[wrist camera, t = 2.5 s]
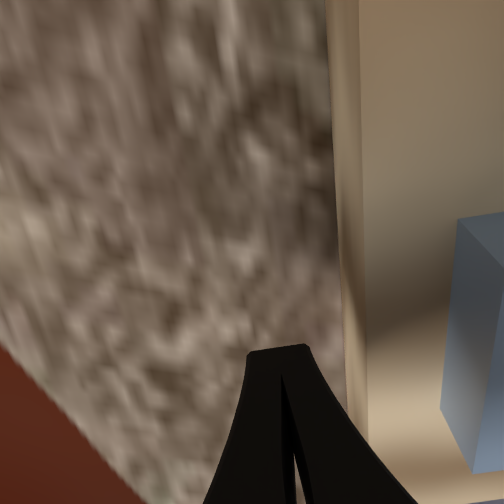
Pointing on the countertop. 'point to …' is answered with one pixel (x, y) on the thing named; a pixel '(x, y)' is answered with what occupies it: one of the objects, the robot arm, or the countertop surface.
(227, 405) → the countertop surface
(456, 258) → the blue flat block
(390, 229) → the board
